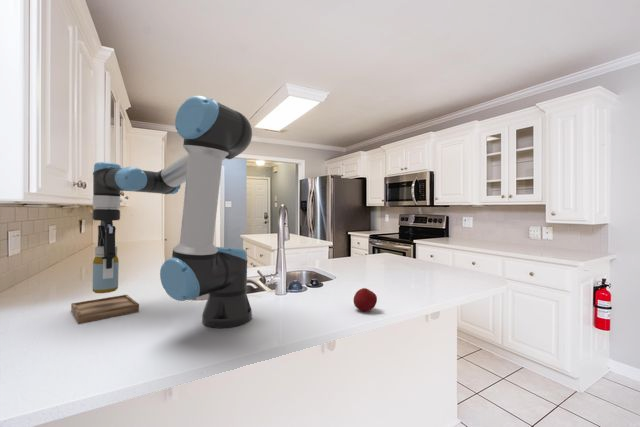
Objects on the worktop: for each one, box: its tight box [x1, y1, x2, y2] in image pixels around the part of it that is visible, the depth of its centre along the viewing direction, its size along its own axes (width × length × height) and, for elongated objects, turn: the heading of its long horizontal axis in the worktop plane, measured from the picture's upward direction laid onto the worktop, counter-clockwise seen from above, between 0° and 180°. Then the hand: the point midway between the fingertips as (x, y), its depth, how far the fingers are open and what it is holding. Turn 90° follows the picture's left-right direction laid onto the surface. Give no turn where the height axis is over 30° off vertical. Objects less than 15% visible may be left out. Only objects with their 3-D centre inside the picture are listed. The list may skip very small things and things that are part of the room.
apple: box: [353, 287, 378, 313], centre depth 104 cm, size 8×8×8 cm
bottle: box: [92, 245, 120, 294], centre depth 99 cm, size 7×7×15 cm
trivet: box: [71, 294, 140, 325], centre depth 99 cm, size 16×16×3 cm
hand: (105, 276), depth 99 cm, fingers closed on bottle, 7 cm apart
